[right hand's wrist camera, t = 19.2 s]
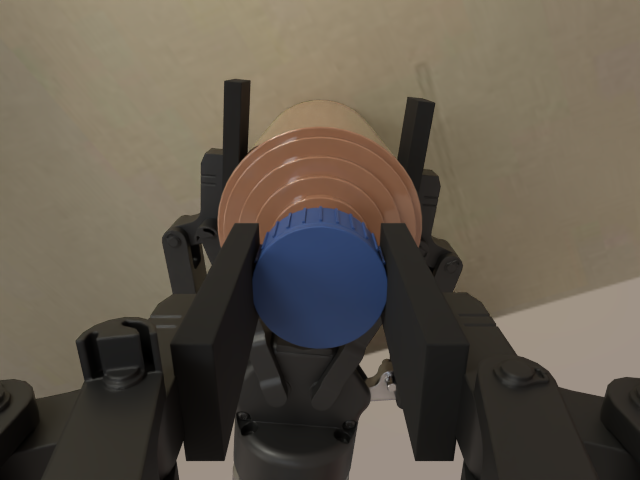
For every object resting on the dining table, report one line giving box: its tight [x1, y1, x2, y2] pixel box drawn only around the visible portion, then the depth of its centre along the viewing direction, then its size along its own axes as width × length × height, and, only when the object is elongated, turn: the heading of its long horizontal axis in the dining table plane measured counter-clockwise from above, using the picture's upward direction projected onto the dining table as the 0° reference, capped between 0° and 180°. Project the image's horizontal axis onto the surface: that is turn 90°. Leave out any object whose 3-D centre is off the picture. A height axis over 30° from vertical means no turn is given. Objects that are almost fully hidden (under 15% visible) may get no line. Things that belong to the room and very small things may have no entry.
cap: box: [252, 206, 387, 349], centre depth 14 cm, size 4×4×2 cm
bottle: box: [217, 100, 422, 248], centre depth 21 cm, size 8×8×17 cm
